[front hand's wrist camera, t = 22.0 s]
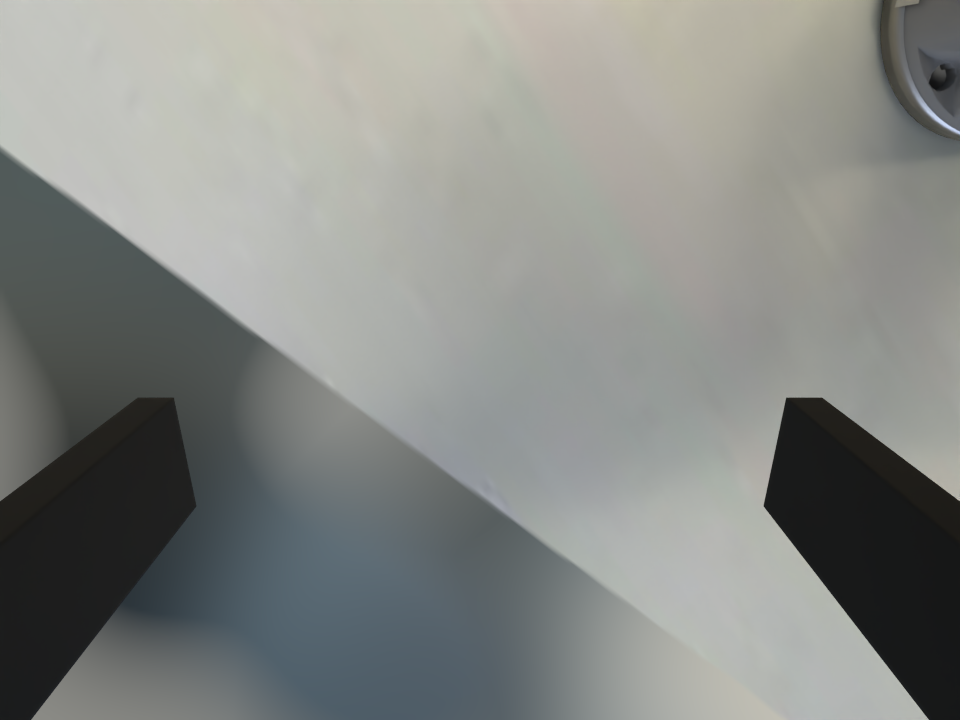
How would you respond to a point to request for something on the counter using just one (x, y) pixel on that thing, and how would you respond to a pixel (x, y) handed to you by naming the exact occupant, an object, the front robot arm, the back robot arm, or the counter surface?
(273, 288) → the counter surface
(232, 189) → the counter surface
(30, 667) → the front robot arm
